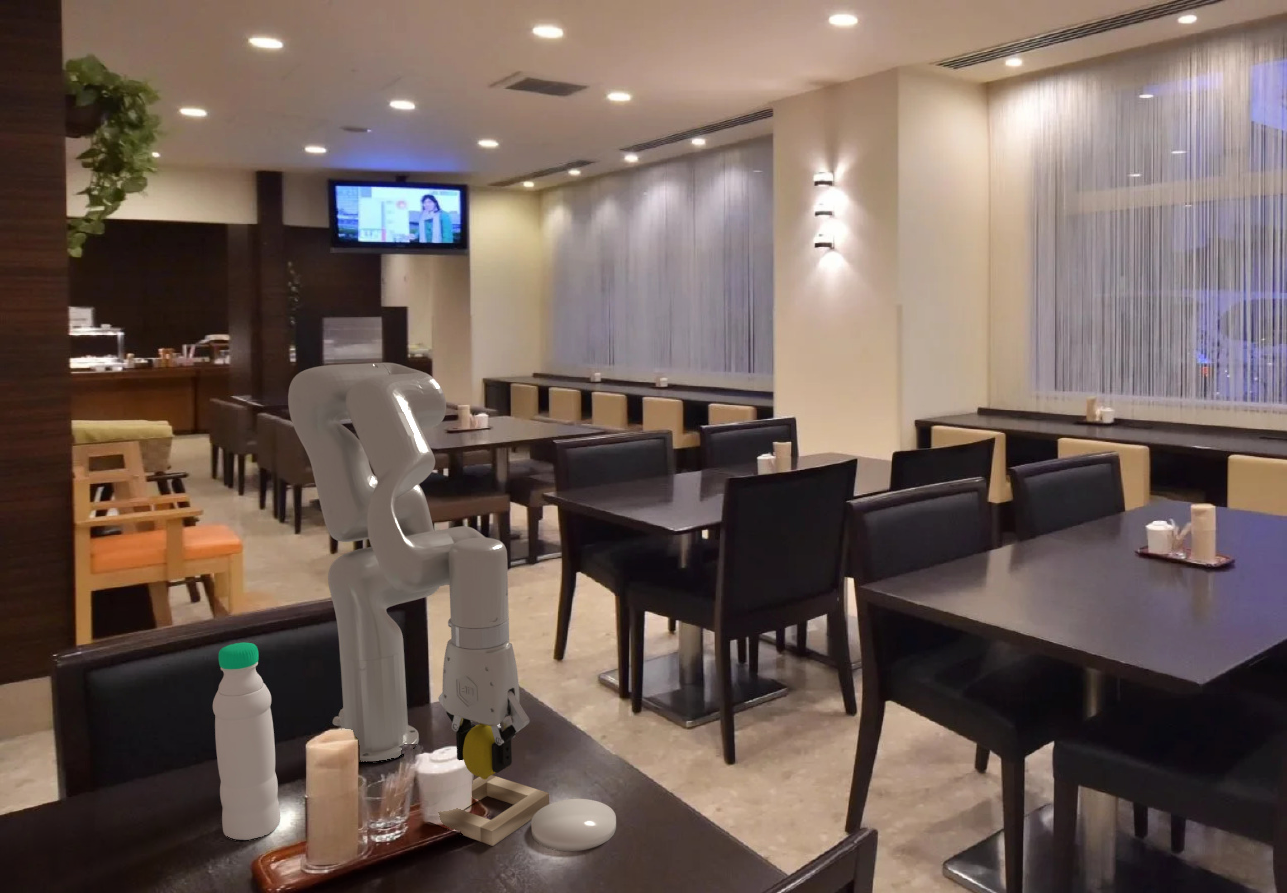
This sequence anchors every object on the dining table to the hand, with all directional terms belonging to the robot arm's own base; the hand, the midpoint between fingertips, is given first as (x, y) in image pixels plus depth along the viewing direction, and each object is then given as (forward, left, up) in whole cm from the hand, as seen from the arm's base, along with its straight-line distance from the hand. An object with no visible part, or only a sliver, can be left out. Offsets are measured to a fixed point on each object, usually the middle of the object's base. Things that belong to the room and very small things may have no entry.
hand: (484, 761), depth 131 cm
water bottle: (-24, -19, -8) cm, 32 cm away
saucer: (+13, +3, -7) cm, 15 cm away
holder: (+1, 0, -7) cm, 7 cm away
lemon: (0, 0, -3) cm, 3 cm away
